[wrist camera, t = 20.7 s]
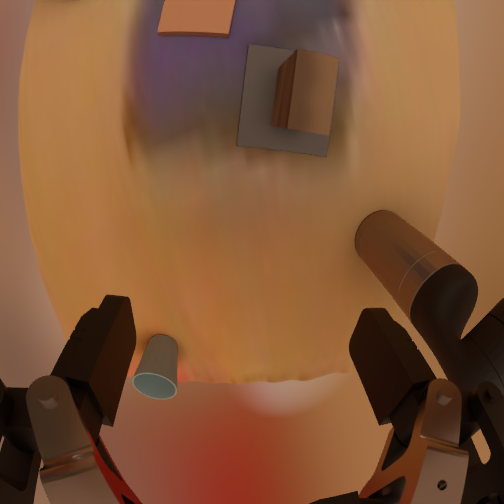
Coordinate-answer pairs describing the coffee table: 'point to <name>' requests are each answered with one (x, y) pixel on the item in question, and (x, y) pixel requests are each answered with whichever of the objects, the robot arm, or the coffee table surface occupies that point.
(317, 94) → the tall wooden block
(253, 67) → the rest mat
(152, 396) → the cup
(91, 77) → the coffee table surface
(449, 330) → the robot arm
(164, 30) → the tile
